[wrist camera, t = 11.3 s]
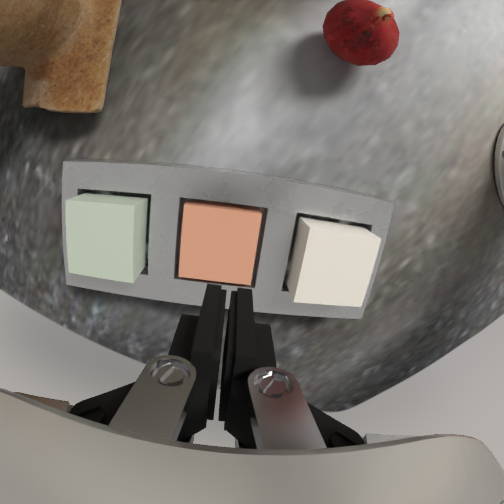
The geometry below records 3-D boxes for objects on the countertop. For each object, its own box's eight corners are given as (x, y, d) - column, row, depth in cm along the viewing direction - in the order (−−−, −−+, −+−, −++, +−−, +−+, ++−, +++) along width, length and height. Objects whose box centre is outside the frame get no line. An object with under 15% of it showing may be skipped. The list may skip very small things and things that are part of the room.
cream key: (363, 227, 21) (381, 238, 18) (347, 289, 23) (361, 306, 20) (299, 216, 20) (310, 227, 18) (286, 283, 22) (293, 302, 19)
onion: (353, 87, 21) (401, 65, 13) (299, 45, 19) (327, 5, 12) (383, 48, 19) (432, 22, 12) (334, 9, 18) (369, -32, 10)
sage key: (148, 198, 19) (134, 205, 17) (145, 266, 21) (133, 283, 18) (85, 193, 19) (65, 200, 16) (86, 258, 20) (68, 272, 18)
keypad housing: (371, 194, 24) (394, 203, 20) (345, 296, 27) (361, 318, 23) (87, 158, 21) (63, 161, 17) (86, 265, 24) (66, 284, 20)
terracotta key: (258, 206, 22) (261, 214, 19) (248, 269, 24) (250, 285, 21) (190, 197, 22) (184, 204, 19) (184, 261, 23) (178, 276, 20)
